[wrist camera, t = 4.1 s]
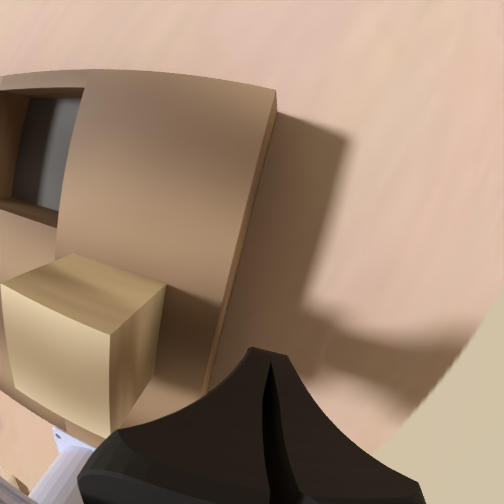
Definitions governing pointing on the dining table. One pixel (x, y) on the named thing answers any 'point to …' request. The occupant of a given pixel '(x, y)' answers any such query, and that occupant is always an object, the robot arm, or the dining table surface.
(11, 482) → the holder
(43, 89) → the trap board
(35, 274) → the maple block
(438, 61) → the dining table surface
